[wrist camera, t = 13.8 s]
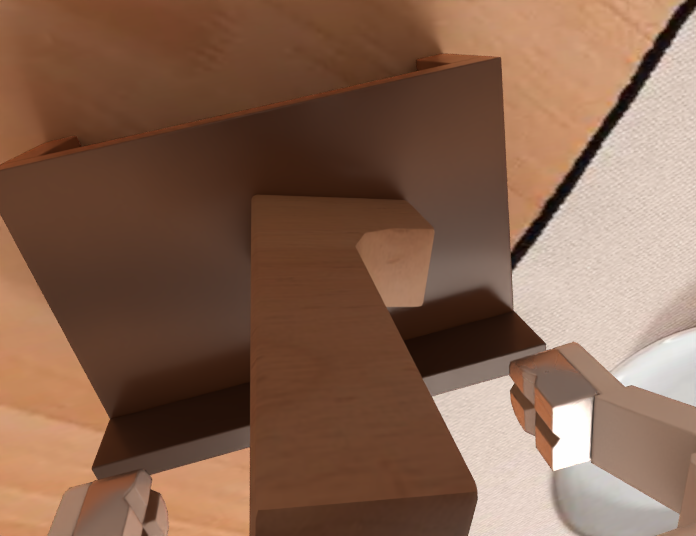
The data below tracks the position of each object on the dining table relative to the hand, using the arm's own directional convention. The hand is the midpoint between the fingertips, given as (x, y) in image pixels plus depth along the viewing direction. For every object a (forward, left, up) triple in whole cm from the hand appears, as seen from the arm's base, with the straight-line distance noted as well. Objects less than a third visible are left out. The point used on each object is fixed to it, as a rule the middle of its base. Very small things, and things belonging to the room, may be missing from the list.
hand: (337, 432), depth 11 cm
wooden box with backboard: (+1, 0, -18) cm, 18 cm away
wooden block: (0, +2, -12) cm, 12 cm away
